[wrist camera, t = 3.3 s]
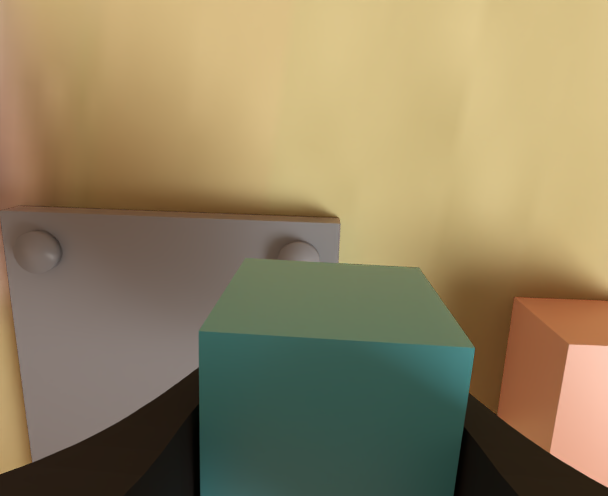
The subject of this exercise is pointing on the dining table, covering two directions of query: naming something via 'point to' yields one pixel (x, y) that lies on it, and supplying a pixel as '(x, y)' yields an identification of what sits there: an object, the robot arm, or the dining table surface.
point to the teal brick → (331, 383)
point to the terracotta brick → (559, 380)
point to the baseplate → (125, 302)
